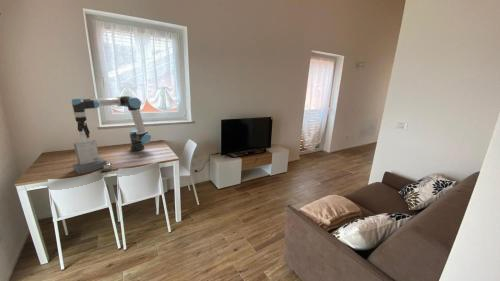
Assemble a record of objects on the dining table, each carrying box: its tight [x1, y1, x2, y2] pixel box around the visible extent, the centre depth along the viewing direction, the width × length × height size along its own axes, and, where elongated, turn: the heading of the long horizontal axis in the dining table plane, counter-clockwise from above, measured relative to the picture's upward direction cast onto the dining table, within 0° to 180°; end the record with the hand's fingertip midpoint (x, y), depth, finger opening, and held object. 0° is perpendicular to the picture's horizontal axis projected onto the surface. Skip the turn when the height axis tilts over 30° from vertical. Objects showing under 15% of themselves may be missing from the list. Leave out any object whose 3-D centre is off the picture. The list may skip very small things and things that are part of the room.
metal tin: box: [102, 162, 113, 172], centre depth 195 cm, size 7×7×5 cm
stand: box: [71, 156, 107, 175], centre depth 196 cm, size 22×14×6 cm, turn 146°
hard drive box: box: [73, 139, 100, 165], centre depth 193 cm, size 16×8×20 cm, turn 140°
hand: (85, 139), depth 189 cm, fingers open, 13 cm apart
